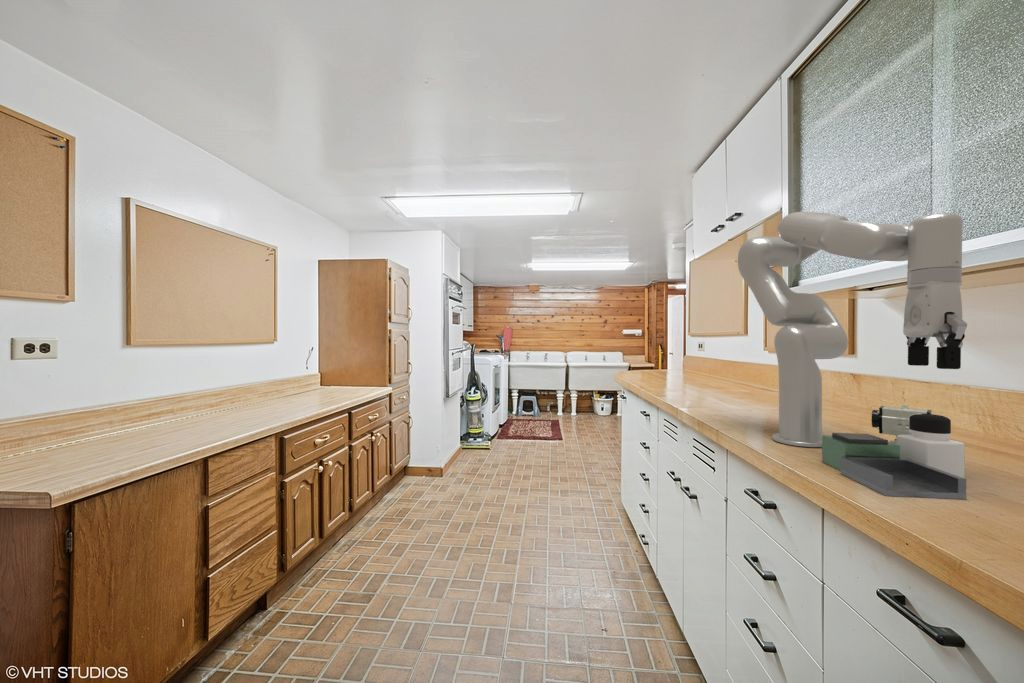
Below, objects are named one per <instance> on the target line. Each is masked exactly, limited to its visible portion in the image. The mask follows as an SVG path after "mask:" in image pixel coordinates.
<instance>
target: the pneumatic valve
mask: <svg viewBox="0 0 1024 683" xmlns="http://www.w3.org/2000/svg"><path fill="white" fill-rule="evenodd" d="M908 406H909V404H907V403H902V404H901V406H899V407H898V406H890V405H889V406H887V405H881V406H880V407H879V408H878V409H872V410H871V411H872V412H871V427H872V428H875V429H877V430H878V432H879V433H878V434H881V435H890V436H891V435H892V436H895V438H894V440H890V441H889V442H890V443H893V444H897V436H898V435H911V433H910V432H909V416H911V415H913V414H932V410H931V409H925V408H911V407H908Z"/></svg>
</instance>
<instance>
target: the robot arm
mask: <svg viewBox="0 0 1024 683" xmlns="http://www.w3.org/2000/svg"><path fill="white" fill-rule="evenodd" d="M777 234H778V236H757V237H756V236H755V237H752V238H749V239H747V240H745V241H744V242H743V243H742V244H741V246H740V248H739V250H738V254H737V266H738V272H739V273H740V277H742V279H743V280H744V282H745V283H746V285H747V286H748V287H749V289H750V290H751V292H752V294H753V296H754V298H755V300H756V301H757V303H758V305H759V307H760V310H761V311H762V312H763V315H764V316H765V318H766V320H767V321H768V323H769V324H771V325H773V326H777V327H781V328H780V329H778V331H777V332H776V334H775V335H774V342H773V344H774V350H775V353H776V354H775V355H776V360H777V366H778V368H777V369H778V423H777V427H778V432H776V433H773V434H772V438H771V439H772V440H773V441H774V442H777V443H780V444H783V445H784V444H785V445H790V446H795V447H801V448H803V447H804V448H822V435H823V389H822V388H823V377H822V372H821V370H820V367H819V365H818V363H817V362H816V360H833V359H838V358H840V357H841V356H843V355H844V354H846V351H847V349H848V345H849V340H848V339H849V338H848V336H847V333H846V331H845V329H844V328H843V326H842V324H841V323H840V321H839V320H838V318H837V316H836V315H835V313H834V312H833V311H832V309H831V307H830V306H829V304H828V303H827V301H826V300H824V299H823V298H822V297H821V296H819V295H816V294H814V293H808V292H807V293H806V292H796V291H793V290H792V289H791V288H790V287H789V285H788V284H787V282H786V280H785V278H783V276H782V275H781V274H779V272H777V271H776V270H774V269H773V268H772V267H780V268H781V267H783V268H784V267H785V268H786V267H788V268H789V267H794V266H796V265H799V264H801V263H802V262H804V261H806V260H807V259H808V258H810V257H812V256H813V255H815V254H816V253H817V252H819V251H820V250H821V251H824V252H826V253H829V254H831V255H836V256H842V257H845V258H850V259H855V260H862V261H884V262H907V274H906V277H907V278H906V280H907V282H906V283H907V284H906V285H907V286H906V287H907V289H908V290H907V294H906V298H905V299H906V300H905V302H904V303H905V304H904V314H903V316H904V317H903V329H902V330H903V335H904V337H905V338H906V339H907V341H906V345H907V365H908V366H920V367H921V366H922V367H925V366H926V367H927V366H929V364H930V361H929V360H930V359H929V358H930V357H929V356H930V346H929V345H928V342H929V341H930V339H931V338H935V339H936V341H937V342H938V345H939V346H937V347H936V368H937V369H941V370H959V369H961V364H962V362H961V361H962V354H961V353H962V347H964V344H963V341H964V339H965V337H966V334H965V332H966V330H967V328H968V323H967V322H966V321H964V320H963V303H962V301H963V300H962V294H961V288H960V286H962V283H963V282H962V279H963V278H962V277H963V275H962V274H963V272H962V271H963V269H962V268H963V267H962V266H963V256H962V255H963V219H962V217H961V215H959V214H957V213H948V212H947V213H946V212H945V213H943V212H942V213H935V214H929V215H924V216H920V217H917V218H915V219H914V220H912V221H910V222H909V224H892V223H891V224H890V223H873V222H872V223H871V222H863V221H861V222H860V221H852V220H849V218H847V217H846V216H843V215H838V214H837V215H836V214H831V213H827V212H815V211H794V212H791V213H788V214H787V215H785V216H784V217H783V218H782V219H780V221H779V223H778V225H777Z"/></svg>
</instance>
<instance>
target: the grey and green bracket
mask: <svg viewBox="0 0 1024 683" xmlns="http://www.w3.org/2000/svg"><path fill="white" fill-rule="evenodd" d="M821 462H822V463H823V462H824V463H823V464H825V463H826V465H827V464H828V466H829V465H830V466H829V467H831V466H832V468H834V469H836V470H838V471H839V474H841V475H842V476H844V477H846V478H849V479H850V478H851V479H850V480H852V481H854V480H855V481H854V482H856V481H857V483H858V482H859V483H858V484H860V483H861V485H862V484H863V486H864V485H865V486H864V487H866V486H867V487H866V488H868V487H869V488H868V489H870V488H871V491H875V492H877V493H879V494H880V495H883V496H886V497H901V496H905V497H906V498H927V499H945V498H947V499H949V500H967V478H966V477H964V478H962V477H959V476H956V475H953V474H950V473H948V472H945V471H942V470H939V469H936V468H933V467H930V466H928V465H925V464H922V463H919V462H916V461H913V460H910V459H900V445H897V444H893V443H890V441H889V440H888V439H886V438H882V437H879V436H875V435H873V434H870V433H852V432H851V433H849V432H832V433H831V435H829V434H828V435H827V434H826V435H825V434H822V447H821ZM947 499H946V500H947Z"/></svg>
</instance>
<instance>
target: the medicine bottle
mask: <svg viewBox="0 0 1024 683" xmlns="http://www.w3.org/2000/svg"><path fill="white" fill-rule="evenodd" d="M951 421H952V420H951V419H950V418H949V417H946V416H944V415H938V414H933V413H931V414H913V415H911V416H909V432H910V433H911V435H898V436H897V445H900V459H910V460H913V461H916V462H919V463H922V464H925V465H928V466H930V467H933V468H936V469H939V470H942V471H945V472H948V473H950V474H953V475H956V476H959V477H962V478H966V477H965V472H966V471H965V469H966V468H965V451H966V450H965V449H966V448H965V443H964V442H961V441H958V440H953V439H950V438H951V437H952V422H951Z"/></svg>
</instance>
